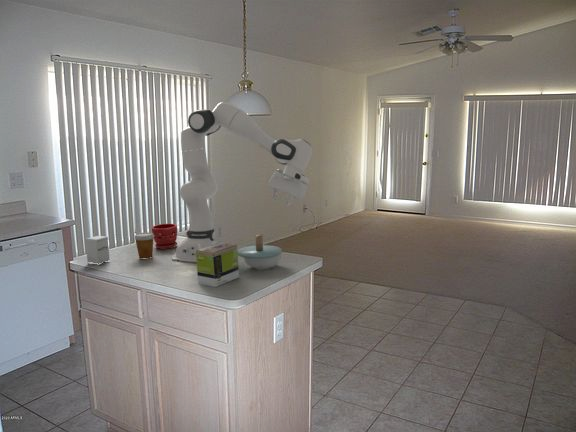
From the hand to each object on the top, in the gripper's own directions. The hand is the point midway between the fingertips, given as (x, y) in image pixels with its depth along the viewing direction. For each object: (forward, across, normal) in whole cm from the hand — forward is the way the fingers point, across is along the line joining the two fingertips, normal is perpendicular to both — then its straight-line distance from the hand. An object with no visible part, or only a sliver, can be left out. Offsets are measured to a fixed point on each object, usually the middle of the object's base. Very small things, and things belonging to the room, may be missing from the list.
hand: (280, 202), depth 223 cm
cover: (+25, +2, -1) cm, 25 cm away
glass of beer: (+53, -53, -14) cm, 76 cm away
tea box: (+41, +4, -21) cm, 46 cm away
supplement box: (+63, -62, -32) cm, 94 cm away
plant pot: (+47, -64, +4) cm, 79 cm away
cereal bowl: (+31, +4, +3) cm, 31 cm away
